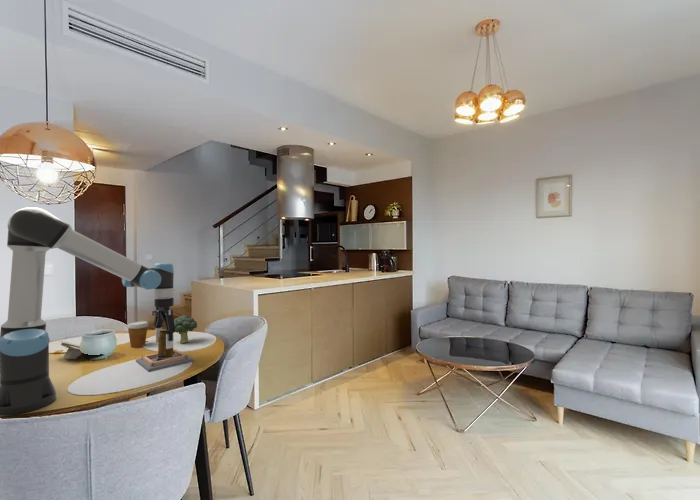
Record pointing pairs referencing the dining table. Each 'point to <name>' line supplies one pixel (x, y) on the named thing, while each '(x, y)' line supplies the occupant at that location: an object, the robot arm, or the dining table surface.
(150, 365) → the holder
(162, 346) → the condiment
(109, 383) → the dining table surface
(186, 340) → the vegetable
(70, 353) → the grey angled piece
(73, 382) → the dining table surface
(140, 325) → the disposable coffee cup
